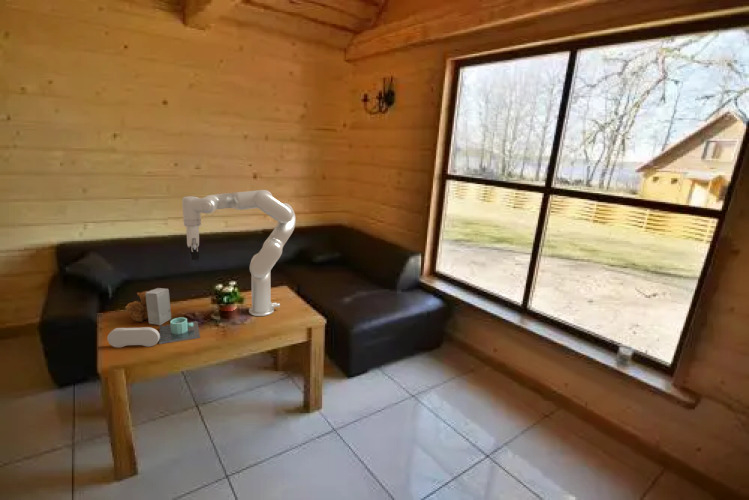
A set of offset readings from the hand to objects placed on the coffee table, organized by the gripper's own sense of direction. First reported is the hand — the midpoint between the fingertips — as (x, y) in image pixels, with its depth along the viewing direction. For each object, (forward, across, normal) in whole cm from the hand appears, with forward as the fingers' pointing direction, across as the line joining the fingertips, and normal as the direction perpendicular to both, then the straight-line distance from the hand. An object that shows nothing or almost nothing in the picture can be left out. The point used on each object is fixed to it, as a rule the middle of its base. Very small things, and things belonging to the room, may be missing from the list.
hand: (194, 256), depth 187 cm
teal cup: (+29, +19, -8) cm, 36 cm away
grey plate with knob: (+30, +19, -9) cm, 37 cm away
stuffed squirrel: (+31, -3, -24) cm, 39 cm away
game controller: (+31, +25, -26) cm, 47 cm away
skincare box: (+31, +3, -17) cm, 35 cm away
